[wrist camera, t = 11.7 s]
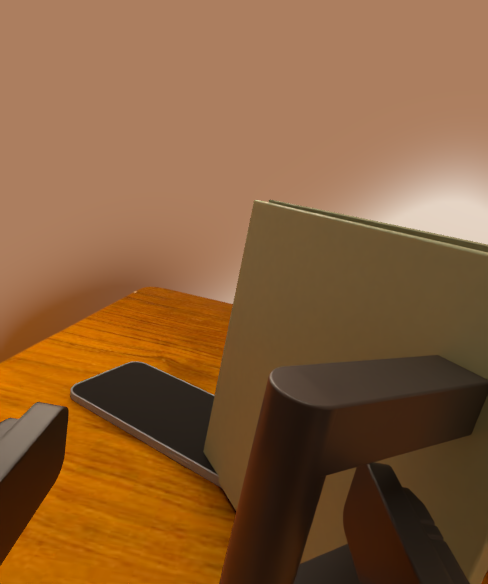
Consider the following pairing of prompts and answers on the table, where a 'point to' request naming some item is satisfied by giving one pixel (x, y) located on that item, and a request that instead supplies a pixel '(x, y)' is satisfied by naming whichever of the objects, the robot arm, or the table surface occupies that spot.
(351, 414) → the cupboard door
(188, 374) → the table surface
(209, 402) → the smartphone
